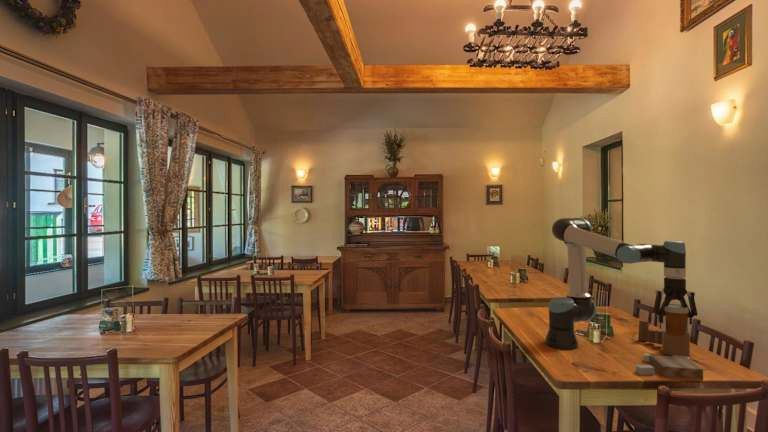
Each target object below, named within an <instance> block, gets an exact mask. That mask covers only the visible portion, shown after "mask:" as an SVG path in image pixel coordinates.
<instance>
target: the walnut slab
mask: <svg viewBox="0 0 768 432" xmlns="http://www.w3.org/2000/svg"><path fill="white" fill-rule="evenodd" d="M649 365H651V366H652V367H654V368H655V370H656V371H657V372H658V373H659V374H660V375H661V376H663V377H669V378H679V377H680V378H681V379H694V380H704V369H703V368H701V367H700V366H699V365H697V364H696V363H695V362H693V361H692V360H691V359H690V360H689V359H687V358H686V357H673V356H669V355H660V354H659V355H658V354H651V355H650V362H649Z"/></svg>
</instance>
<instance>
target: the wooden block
mask: <svg viewBox="0 0 768 432" xmlns="http://www.w3.org/2000/svg"><path fill="white" fill-rule="evenodd" d="M661 331H662V330H661ZM690 335H691V332H690V333H687V332H685V336H672V335H669V334H667V333H666V332H664V331H662V344H661V348H662V354H663V355H664V356H673V355H678V356H685V357H689V358H690V356H691V355H690V354H691V351H690V350H691V349H690V347H691V346H690V344H691V341H690V338H691V336H690Z"/></svg>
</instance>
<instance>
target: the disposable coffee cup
mask: <svg viewBox="0 0 768 432" xmlns="http://www.w3.org/2000/svg"><path fill="white" fill-rule="evenodd" d="M688 307H689V306H688ZM688 307H687V308H685V307H682V305H681V304H677V303H669V305H668V306H665V308H664V310H665V313H664V316H666V333H667V334H669V335H672V336H685V329H686V322H687V315H688V312H689V310H688Z"/></svg>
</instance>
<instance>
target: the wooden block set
mask: <svg viewBox="0 0 768 432" xmlns="http://www.w3.org/2000/svg"><path fill="white" fill-rule="evenodd" d="M649 327H650V322H649V321H648V320H643V319H639V321H638V333H637V335H638V337H637V340H638V341H640V342H641V341H642V342H648V343H650V344H657V345H662V330H653V329H649Z"/></svg>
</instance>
